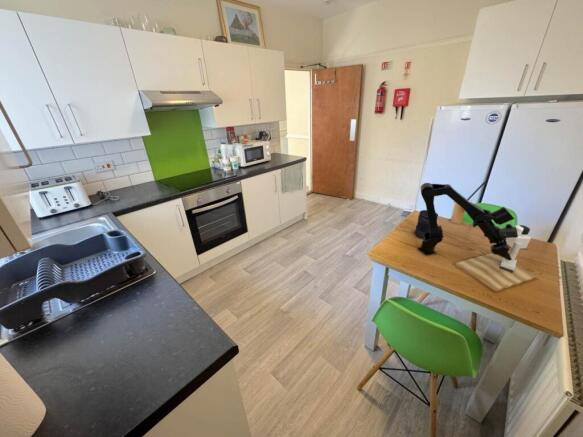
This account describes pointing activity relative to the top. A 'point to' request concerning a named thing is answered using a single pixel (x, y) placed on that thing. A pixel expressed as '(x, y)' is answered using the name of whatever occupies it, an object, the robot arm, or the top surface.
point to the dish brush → (513, 253)
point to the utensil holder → (460, 210)
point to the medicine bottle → (520, 237)
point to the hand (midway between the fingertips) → (509, 255)
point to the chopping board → (493, 272)
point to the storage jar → (423, 224)
